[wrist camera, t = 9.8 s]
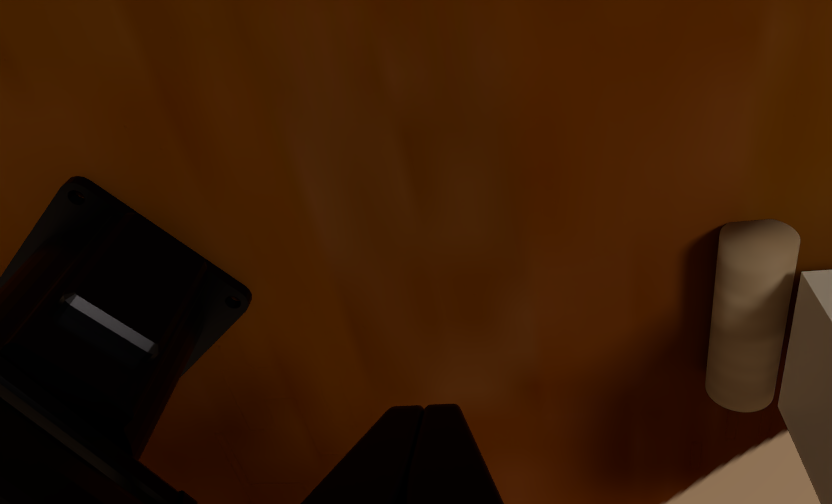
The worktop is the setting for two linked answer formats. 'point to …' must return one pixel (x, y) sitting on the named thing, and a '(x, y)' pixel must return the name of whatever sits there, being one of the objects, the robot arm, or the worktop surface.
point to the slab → (811, 380)
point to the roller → (750, 312)
